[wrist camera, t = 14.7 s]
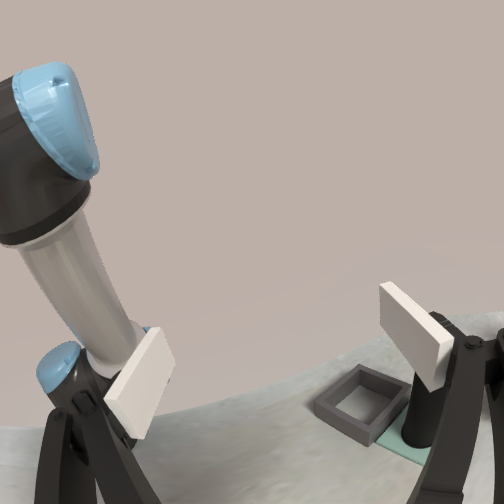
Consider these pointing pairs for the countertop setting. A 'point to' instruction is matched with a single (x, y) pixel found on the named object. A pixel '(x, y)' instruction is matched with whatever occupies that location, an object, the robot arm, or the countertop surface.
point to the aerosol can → (423, 414)
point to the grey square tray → (373, 382)
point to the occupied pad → (402, 442)
